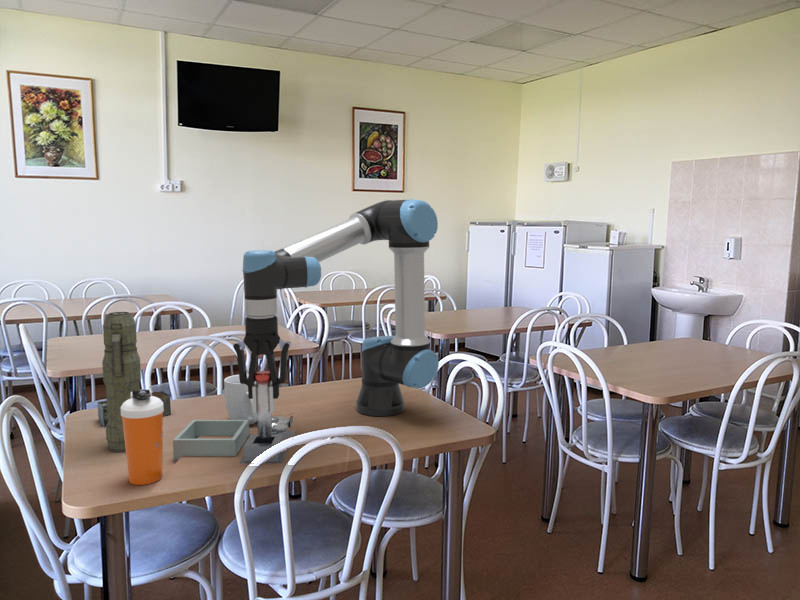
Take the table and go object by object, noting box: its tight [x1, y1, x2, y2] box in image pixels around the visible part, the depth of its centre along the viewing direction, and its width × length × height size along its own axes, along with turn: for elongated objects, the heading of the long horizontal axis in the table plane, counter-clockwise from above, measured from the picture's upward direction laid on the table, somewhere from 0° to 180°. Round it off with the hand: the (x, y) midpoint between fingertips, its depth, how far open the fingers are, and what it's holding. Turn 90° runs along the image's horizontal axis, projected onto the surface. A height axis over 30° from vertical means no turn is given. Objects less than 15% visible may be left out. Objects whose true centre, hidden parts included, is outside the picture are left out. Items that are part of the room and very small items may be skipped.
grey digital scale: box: [239, 415, 296, 464], centre depth 152 cm, size 22×10×7 cm, turn 1°
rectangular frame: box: [172, 419, 250, 463], centre depth 153 cm, size 15×15×6 cm
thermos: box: [101, 311, 142, 453], centre depth 153 cm, size 9×12×35 cm
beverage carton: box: [97, 390, 172, 428], centre depth 177 cm, size 8×19×7 cm, turn 128°
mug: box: [223, 373, 257, 426], centre depth 172 cm, size 15×11×13 cm
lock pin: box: [254, 370, 273, 438], centre depth 144 cm, size 4×4×16 cm
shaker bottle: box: [121, 389, 164, 486], centre depth 135 cm, size 9×9×20 cm
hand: (264, 411), depth 144 cm, fingers closed on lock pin, 3 cm apart
